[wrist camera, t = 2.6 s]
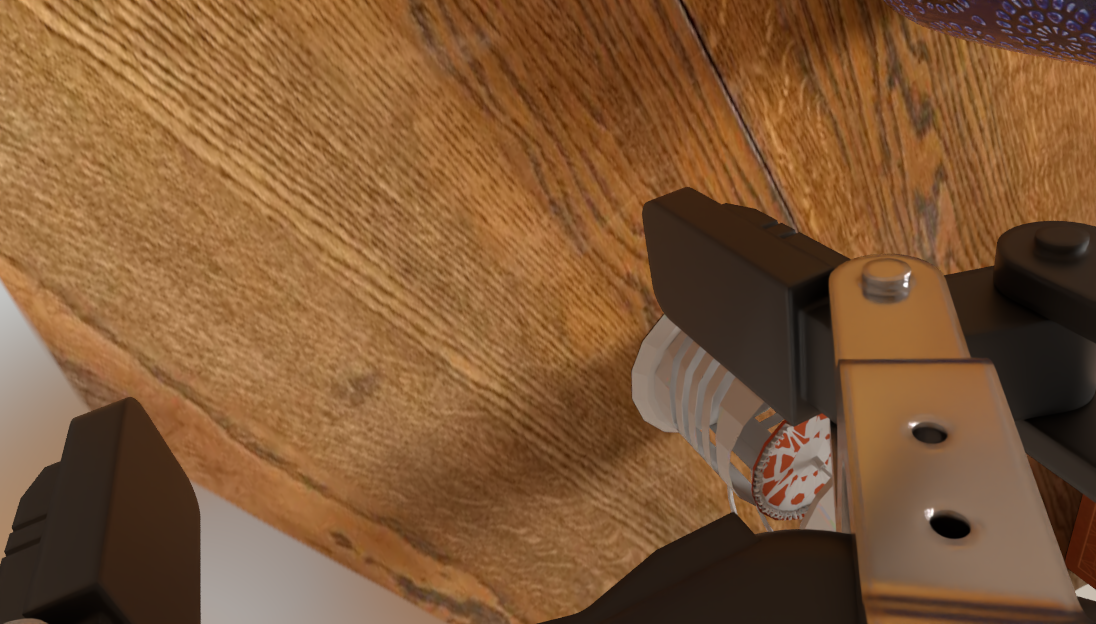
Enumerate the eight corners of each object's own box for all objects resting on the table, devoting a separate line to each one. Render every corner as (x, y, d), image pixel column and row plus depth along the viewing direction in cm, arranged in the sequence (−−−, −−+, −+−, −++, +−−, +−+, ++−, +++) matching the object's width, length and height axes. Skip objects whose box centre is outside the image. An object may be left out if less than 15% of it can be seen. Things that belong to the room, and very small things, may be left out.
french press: (793, 280, 44) (1312, 603, 23) (749, 445, 49) (1145, 831, 28) (645, 291, 40) (1110, 687, 20) (614, 468, 45) (958, 933, 24)
